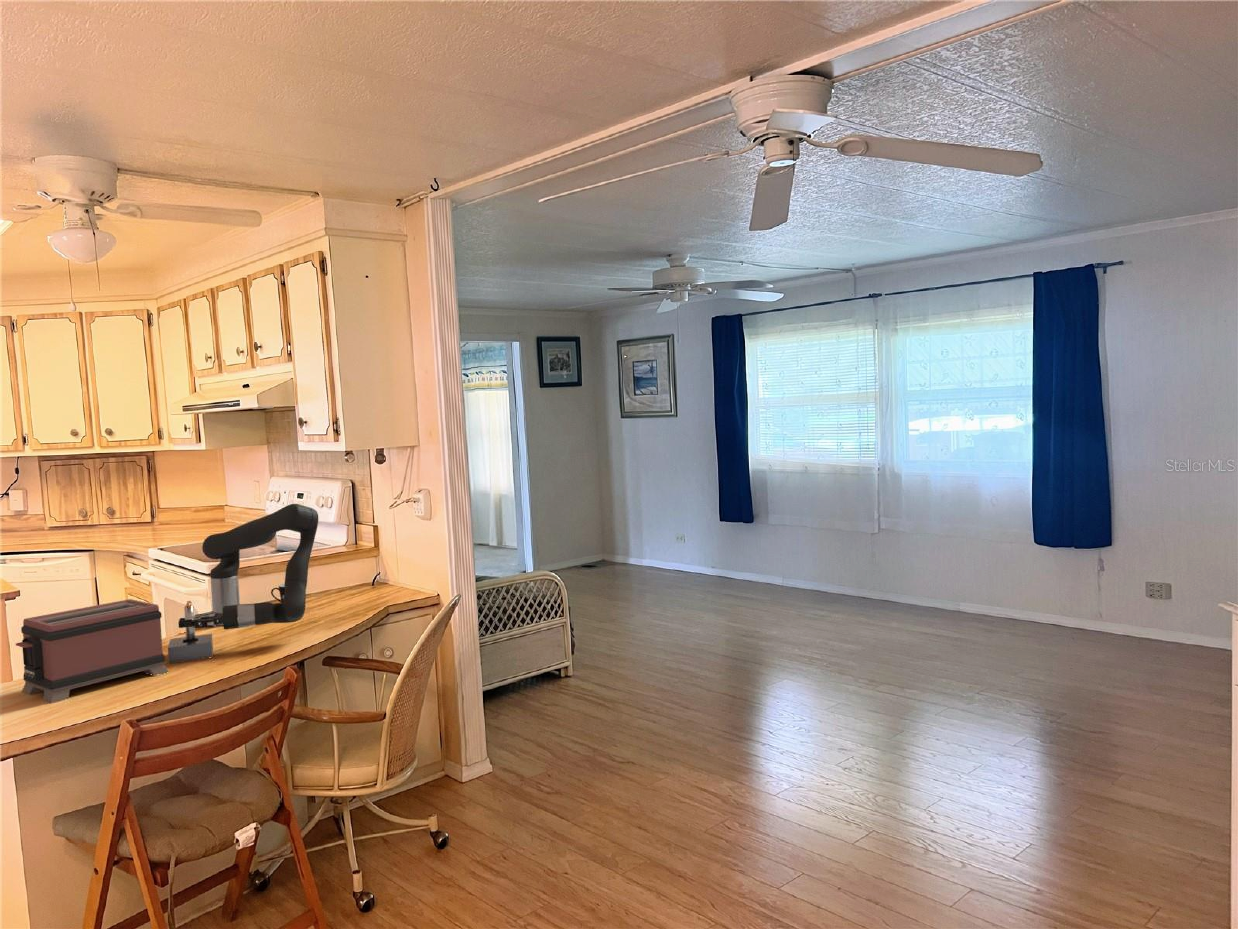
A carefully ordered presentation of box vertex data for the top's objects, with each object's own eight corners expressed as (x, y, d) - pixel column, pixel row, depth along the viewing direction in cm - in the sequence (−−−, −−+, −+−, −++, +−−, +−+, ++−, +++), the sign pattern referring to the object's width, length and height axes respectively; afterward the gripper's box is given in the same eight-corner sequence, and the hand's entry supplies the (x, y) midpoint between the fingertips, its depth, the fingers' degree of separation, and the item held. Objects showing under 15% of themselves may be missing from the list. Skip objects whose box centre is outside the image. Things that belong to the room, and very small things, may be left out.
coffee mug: (308, 608, 330) (306, 583, 330) (289, 613, 323) (287, 587, 323) (289, 606, 337) (288, 581, 336) (270, 610, 329) (268, 585, 329)
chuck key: (187, 651, 268) (184, 601, 268) (196, 650, 270) (193, 600, 269) (186, 655, 263) (183, 604, 262) (195, 654, 264) (192, 603, 263)
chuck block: (171, 654, 270) (170, 638, 269) (212, 648, 275) (212, 633, 274) (168, 663, 259) (167, 647, 258) (212, 658, 264) (211, 642, 263)
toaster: (9, 695, 233) (3, 621, 232) (137, 663, 261) (133, 597, 260) (38, 707, 222) (32, 630, 221) (169, 672, 250) (165, 604, 249)
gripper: (238, 600, 278) (179, 607, 271) (238, 609, 265) (176, 616, 258) (239, 623, 279) (180, 630, 271) (240, 632, 266) (178, 640, 259)
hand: (179, 623), depth 265 cm, fingers open, 3 cm apart
